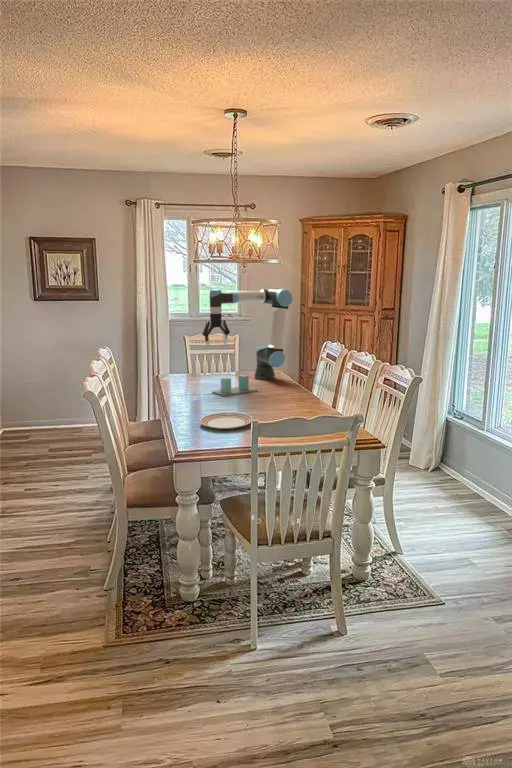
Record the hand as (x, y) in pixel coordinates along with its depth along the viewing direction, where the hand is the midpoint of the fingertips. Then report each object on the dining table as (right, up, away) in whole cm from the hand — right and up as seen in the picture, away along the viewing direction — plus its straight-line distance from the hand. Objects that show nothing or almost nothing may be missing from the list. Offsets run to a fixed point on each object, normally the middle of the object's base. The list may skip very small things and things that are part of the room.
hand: (216, 345), depth 393 cm
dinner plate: (+11, -47, -83) cm, 96 cm away
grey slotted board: (+13, -31, -8) cm, 34 cm away
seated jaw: (+18, -30, -4) cm, 35 cm away
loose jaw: (+7, -32, -12) cm, 35 cm away
